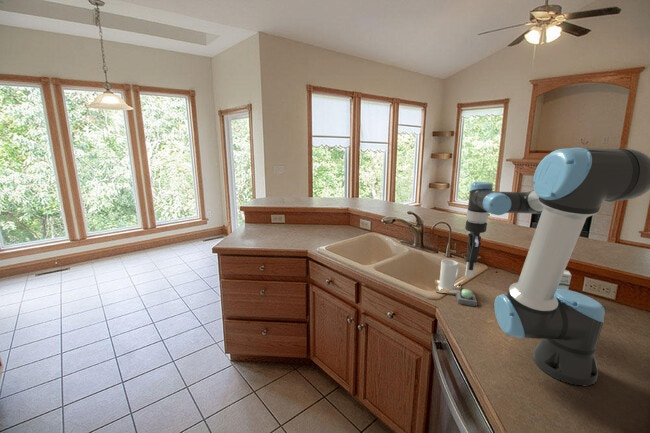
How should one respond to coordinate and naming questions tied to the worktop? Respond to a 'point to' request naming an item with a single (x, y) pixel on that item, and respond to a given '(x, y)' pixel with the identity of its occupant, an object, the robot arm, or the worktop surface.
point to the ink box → (565, 280)
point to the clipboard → (452, 292)
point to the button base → (466, 301)
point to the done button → (466, 294)
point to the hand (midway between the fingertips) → (469, 275)
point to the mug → (448, 273)
